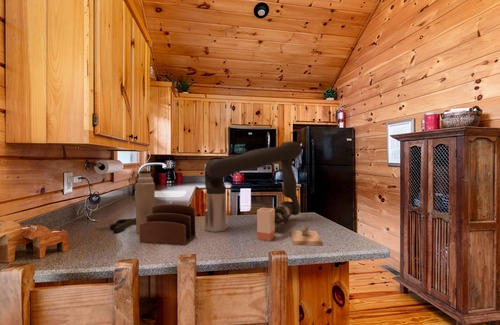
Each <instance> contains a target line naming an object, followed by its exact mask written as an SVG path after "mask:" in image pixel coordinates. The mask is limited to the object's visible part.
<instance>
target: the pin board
mask: <svg viewBox="0 0 500 325" xmlns="http://www.w3.org/2000/svg"><path fill="white" fill-rule="evenodd" d="M301 226H302V227H301V228H302V229H301V230H290V236H291V237H290V238H291V243H292V245H295V246H296V245H298V246H299V245H300V246H323V240H322V239H321V237H320V236H319V234H318V231H317V230H309V225H306V224H302V225H301Z"/></svg>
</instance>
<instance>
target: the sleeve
mask: <svg viewBox="0 0 500 325" xmlns="http://www.w3.org/2000/svg"><path fill="white" fill-rule="evenodd" d="M256 221H257V222H256V228H257V229H256V235H257V236H256V237H257V240H259V241H268V242H270V241H272V240H273V239H274V238H275V237H276V233H275V232H276V230H275V229H276V225H275V224H276V223H275V209H273V208H271V207H270V208H269V207H260V208H258V209H257V210H256Z"/></svg>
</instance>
